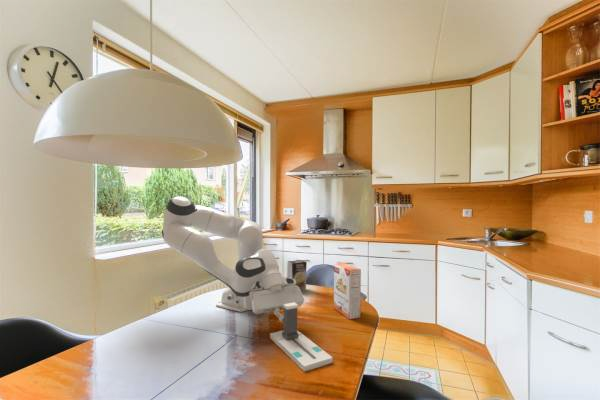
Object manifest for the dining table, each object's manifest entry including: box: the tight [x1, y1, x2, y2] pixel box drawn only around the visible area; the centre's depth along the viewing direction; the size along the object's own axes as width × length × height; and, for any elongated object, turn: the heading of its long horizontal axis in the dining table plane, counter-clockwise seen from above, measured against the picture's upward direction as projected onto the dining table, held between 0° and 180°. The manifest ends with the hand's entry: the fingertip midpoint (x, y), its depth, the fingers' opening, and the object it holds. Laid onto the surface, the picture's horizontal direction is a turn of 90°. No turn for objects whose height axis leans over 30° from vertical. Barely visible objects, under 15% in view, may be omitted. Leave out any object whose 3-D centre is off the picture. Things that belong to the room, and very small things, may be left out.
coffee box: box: [286, 259, 307, 292], centre depth 161 cm, size 9×6×16 cm
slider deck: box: [269, 329, 334, 372], centre depth 95 cm, size 24×10×2 cm, turn 30°
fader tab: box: [282, 302, 299, 340], centre depth 101 cm, size 4×4×11 cm
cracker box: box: [333, 262, 362, 320], centre depth 128 cm, size 14×6×21 cm, turn 21°
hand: (284, 320), depth 104 cm, fingers closed
